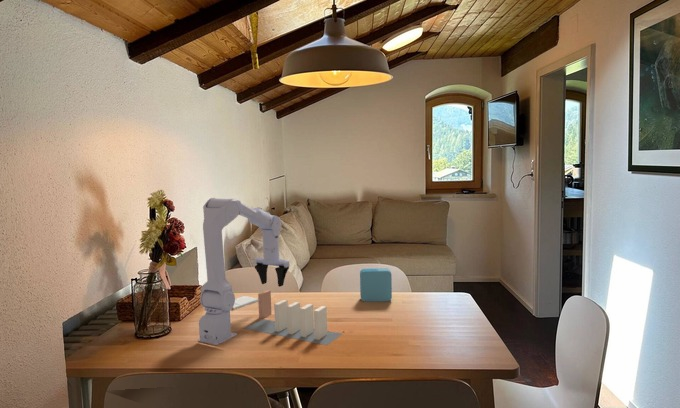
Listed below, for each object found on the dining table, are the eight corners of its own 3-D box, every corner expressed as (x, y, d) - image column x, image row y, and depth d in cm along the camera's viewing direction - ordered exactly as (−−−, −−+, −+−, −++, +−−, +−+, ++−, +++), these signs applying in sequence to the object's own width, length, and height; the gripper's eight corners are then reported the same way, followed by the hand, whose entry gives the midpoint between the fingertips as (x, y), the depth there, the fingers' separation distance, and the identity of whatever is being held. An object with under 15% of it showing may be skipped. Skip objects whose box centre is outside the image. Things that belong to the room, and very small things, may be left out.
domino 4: (305, 337, 147) (304, 309, 146) (301, 336, 148) (300, 308, 147) (313, 331, 151) (313, 304, 150) (309, 331, 152) (308, 303, 151)
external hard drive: (258, 302, 186) (234, 311, 176) (244, 299, 191) (219, 307, 181) (258, 298, 186) (233, 307, 176) (244, 295, 191) (219, 303, 181)
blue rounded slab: (390, 297, 187) (390, 268, 186) (391, 301, 183) (391, 270, 181) (360, 298, 187) (359, 268, 186) (360, 301, 183) (360, 271, 182)
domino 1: (262, 319, 165) (261, 294, 164) (259, 318, 166) (258, 293, 165) (271, 315, 169) (270, 290, 168) (267, 314, 170) (267, 290, 169)
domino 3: (292, 334, 149) (291, 306, 148) (287, 333, 150) (287, 306, 149) (300, 329, 154) (300, 302, 153) (296, 328, 154) (295, 301, 154)
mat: (326, 346, 140) (326, 345, 140) (243, 329, 156) (243, 328, 156) (342, 335, 149) (342, 333, 149) (262, 320, 164) (262, 318, 164)
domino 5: (318, 339, 144) (318, 311, 144) (314, 339, 145) (313, 310, 144) (327, 334, 149) (326, 306, 148) (322, 333, 150) (322, 305, 149)
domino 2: (279, 332, 152) (278, 304, 151) (275, 331, 152) (274, 304, 152) (288, 326, 156) (287, 300, 155) (284, 326, 157) (283, 299, 156)
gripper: (293, 247, 171) (295, 284, 172) (262, 244, 178) (263, 279, 179) (282, 251, 165) (283, 289, 166) (249, 248, 172) (251, 284, 173)
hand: (272, 284), depth 172 cm, fingers open, 7 cm apart
